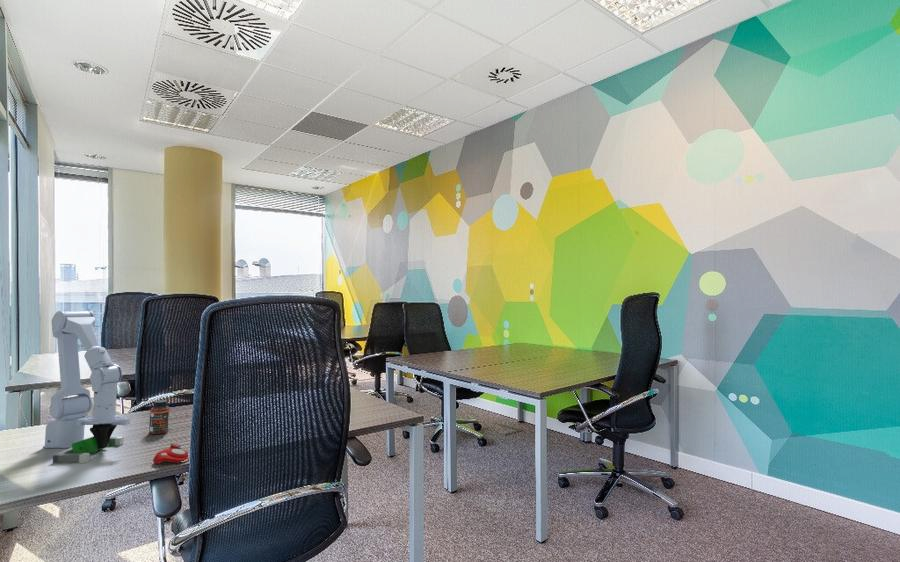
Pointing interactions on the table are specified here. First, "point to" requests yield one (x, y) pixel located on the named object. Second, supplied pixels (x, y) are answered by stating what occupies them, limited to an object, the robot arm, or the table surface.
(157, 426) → the supplement bottle
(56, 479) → the table surface
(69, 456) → the keeper bracket
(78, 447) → the green block
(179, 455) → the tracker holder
